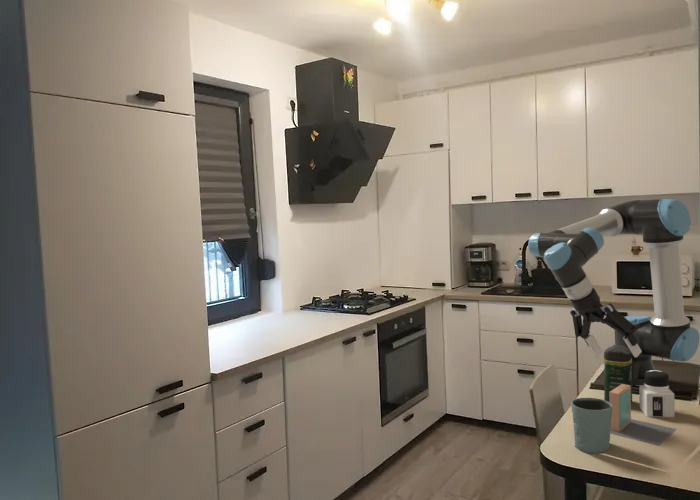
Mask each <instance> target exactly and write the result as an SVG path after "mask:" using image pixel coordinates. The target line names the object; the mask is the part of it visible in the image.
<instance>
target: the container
mask: <svg viewBox="0 0 700 500" xmlns="http://www.w3.org/2000/svg"><path fill="white" fill-rule="evenodd" d="M669 377H670V376H669V374H668V373H667V372H665V371H662V370H657V369H655V370H650V371H647V372H645V373H644V385H640V386H639V387H638V388H639V389H638V390H639V392H638V395H639V398H638V399H639V409H640V410H641V412H642V413H643V414H644V415H645V416H646V417H648V418H650V417H652V418H675V416H676V415H675V414H676V413H675V407H676V405H675V393H674V392H673V391H672V390H671V389H670V383H669V381H670V380H669V379H670V378H669Z"/></svg>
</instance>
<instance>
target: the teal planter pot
mask: <svg viewBox="0 0 700 500" xmlns="http://www.w3.org/2000/svg"><path fill="white" fill-rule="evenodd" d="M570 403H571V413H572V421H573V422H572V423H573V436H574V445H575V448H576V449H577V450H579V451H580V452H583V453H586V454H593V455H600V454H603V452H605V451H608V450H609V449H610V447H611V446H610V443H611V442H610V441H611V434H610V428H611V417H612V407H613V406H612V404H611V403H610V402H608V401H605V400H604V399H601V398H597V397H579V398H575V399H573V400H571V402H570Z"/></svg>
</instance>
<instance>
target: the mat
mask: <svg viewBox="0 0 700 500" xmlns="http://www.w3.org/2000/svg"><path fill="white" fill-rule="evenodd" d="M676 430H677V428H673V427H670V426H664V425H660V424H656V423H650V422H647V421H643V420H637V419H633V418H631V423H629V424H628V425H627V426H626V427H624V428H623V429H622V430H620V431H619V432H617V431H613V430H610V435H614V436H618V437H623V438H626V439H631V440H634V441H639V442H643V443H647V444H650V445H655V446H660V445H662V443H663V442H665V441H666V440H667V439H668V438H669V437H670V436H671V435H672V434H673V433H674V432H675V431H676Z"/></svg>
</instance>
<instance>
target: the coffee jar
mask: <svg viewBox="0 0 700 500" xmlns="http://www.w3.org/2000/svg"><path fill="white" fill-rule="evenodd" d="M603 367H604V369H603V370H604V372H603V373H604V374H603V375H604V378H603V379H604V383H603V384H604V390H603V391H604V393H603V394H604V399H603V400H605V401H608V402H610V401H609V392H610V391H612V390H613V389H615V388H616V387H618V386H620V385H621V384H625V385H631V404H633V386H632V352H631V351H630V349H629V348H628V347H627V346H621V345H615V344H613V345H612V346H609V347H607V348H606V349H604V352H603Z"/></svg>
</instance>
